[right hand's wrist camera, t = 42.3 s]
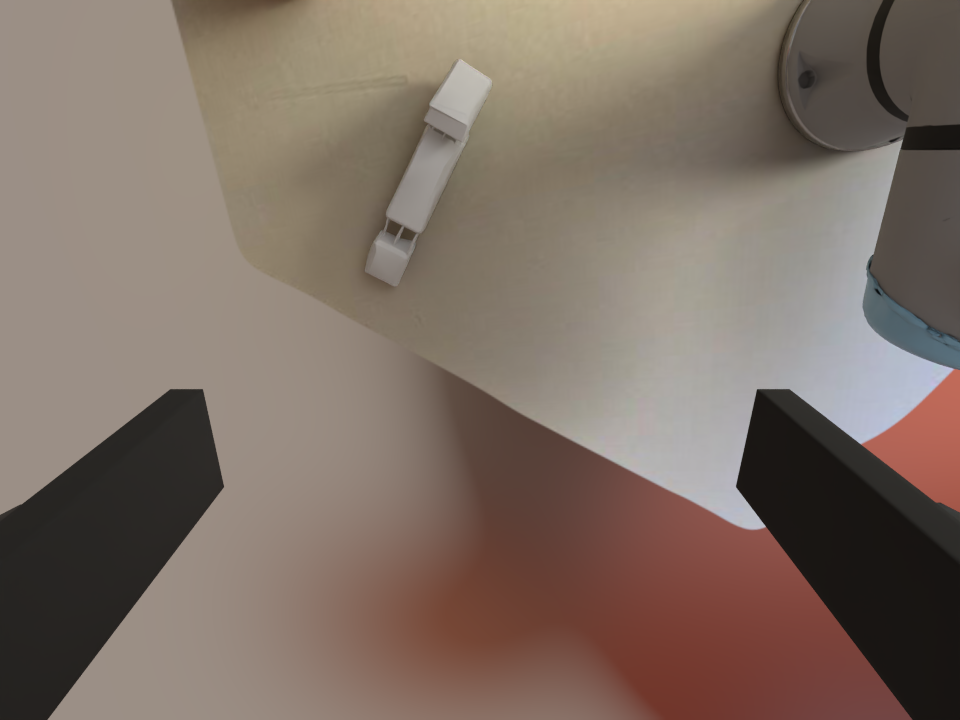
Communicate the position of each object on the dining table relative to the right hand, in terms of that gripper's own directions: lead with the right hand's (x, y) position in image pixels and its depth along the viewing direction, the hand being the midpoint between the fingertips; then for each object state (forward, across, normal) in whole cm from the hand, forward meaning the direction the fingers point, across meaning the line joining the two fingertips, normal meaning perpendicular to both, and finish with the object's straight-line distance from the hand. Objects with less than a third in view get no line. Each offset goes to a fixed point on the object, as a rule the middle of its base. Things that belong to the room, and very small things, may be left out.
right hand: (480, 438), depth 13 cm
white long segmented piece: (+41, -5, +4) cm, 41 cm away
